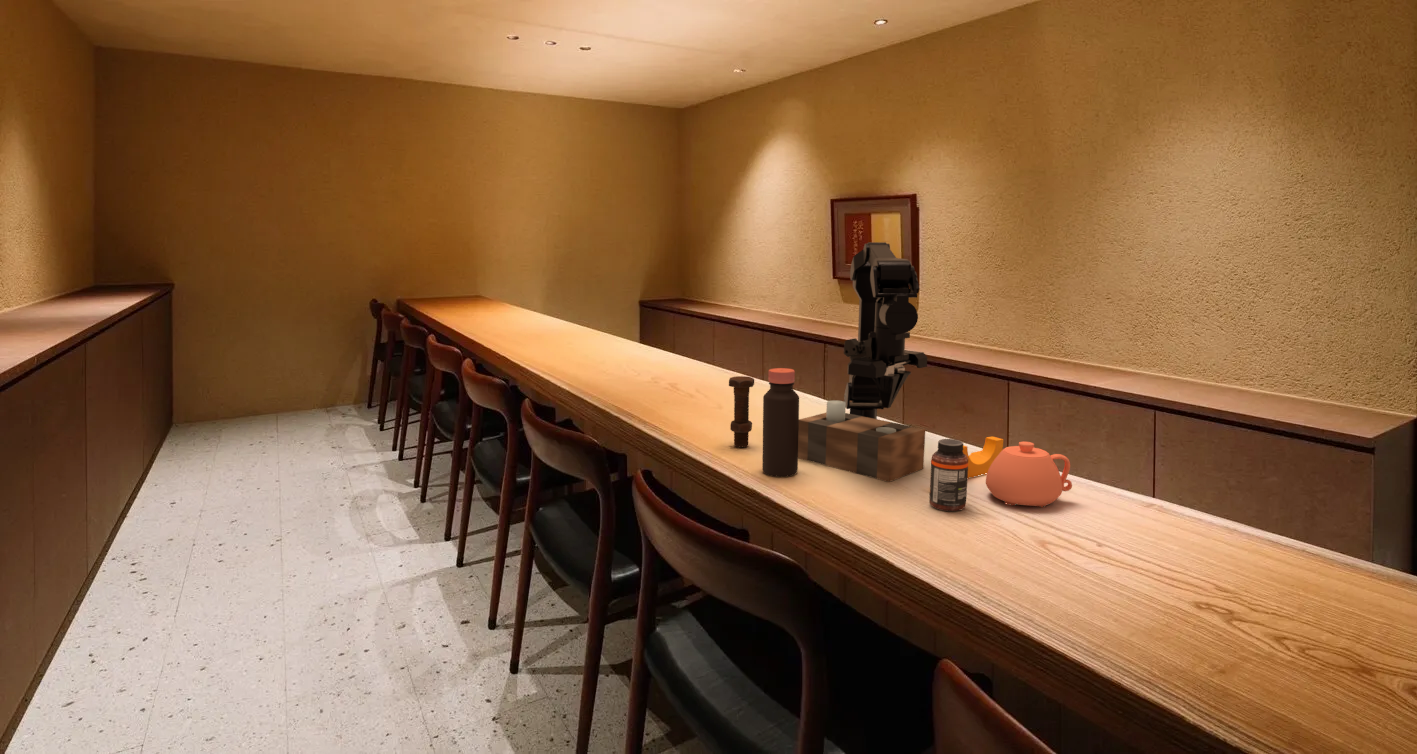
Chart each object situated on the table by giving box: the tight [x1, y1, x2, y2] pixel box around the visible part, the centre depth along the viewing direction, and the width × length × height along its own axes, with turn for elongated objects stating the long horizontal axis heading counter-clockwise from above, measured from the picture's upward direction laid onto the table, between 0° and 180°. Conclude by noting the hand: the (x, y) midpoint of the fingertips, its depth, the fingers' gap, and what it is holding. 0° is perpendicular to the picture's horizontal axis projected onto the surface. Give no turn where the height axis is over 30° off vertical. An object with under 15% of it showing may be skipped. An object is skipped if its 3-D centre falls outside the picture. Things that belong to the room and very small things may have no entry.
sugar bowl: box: [985, 441, 1073, 508], centre depth 132 cm, size 12×14×10 cm
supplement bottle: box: [928, 438, 969, 512], centre depth 129 cm, size 6×6×11 cm
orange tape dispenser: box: [963, 436, 1004, 479], centre depth 147 cm, size 12×4×6 cm, turn 121°
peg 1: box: [825, 399, 846, 423], centre depth 157 cm, size 4×4×7 cm
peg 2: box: [876, 427, 896, 434], centre depth 149 cm, size 4×4×7 cm
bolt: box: [728, 375, 755, 448], centre depth 165 cm, size 6×5×15 cm
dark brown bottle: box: [761, 367, 800, 478], centre depth 146 cm, size 7×7×20 cm
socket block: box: [798, 412, 926, 483], centre depth 153 cm, size 12×22×8 cm, turn 44°
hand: (886, 407), depth 148 cm, fingers closed
